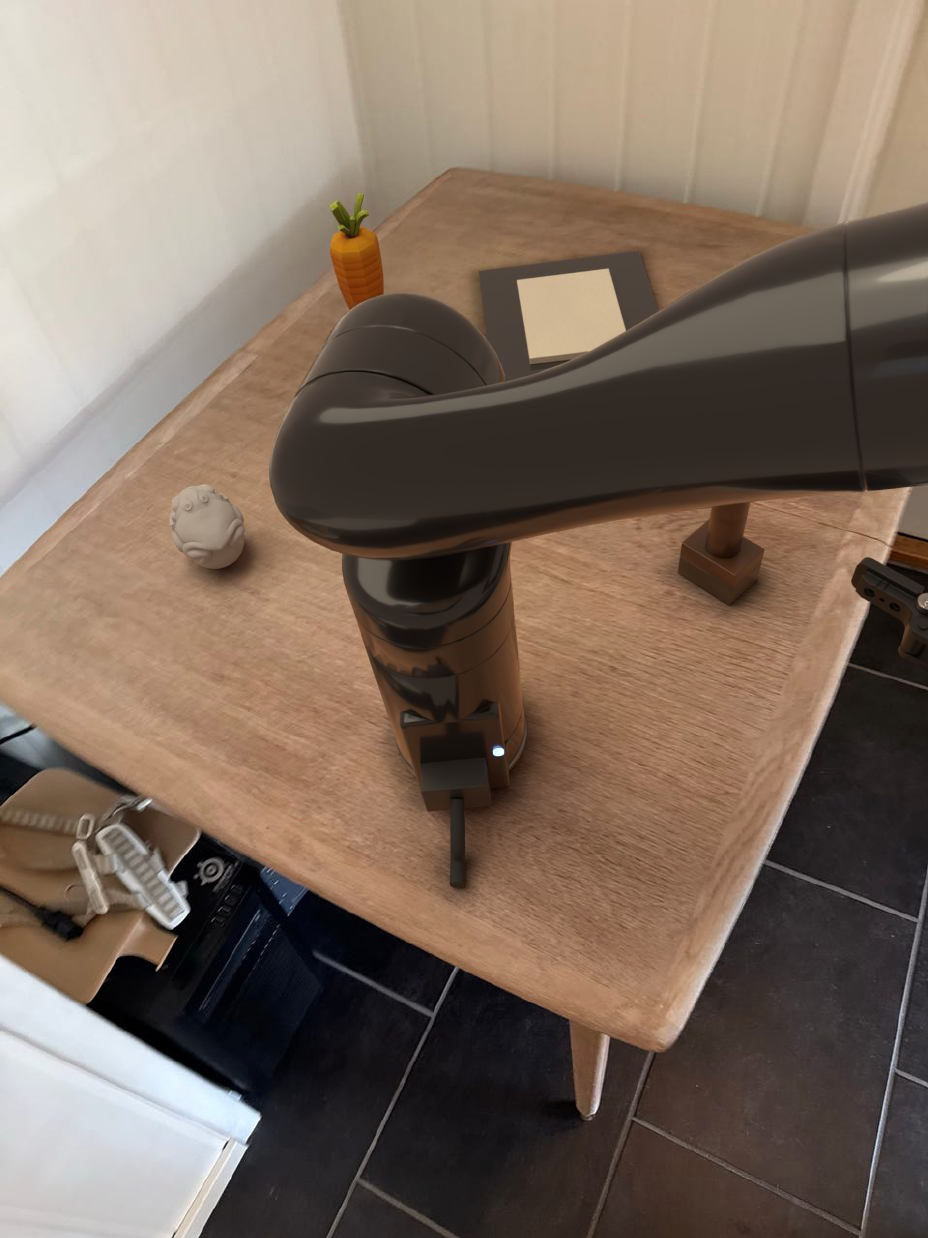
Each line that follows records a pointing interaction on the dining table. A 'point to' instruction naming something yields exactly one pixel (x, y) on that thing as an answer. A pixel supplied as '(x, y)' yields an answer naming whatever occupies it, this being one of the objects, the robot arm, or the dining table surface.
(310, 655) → the dining table surface
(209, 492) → the frog figurine
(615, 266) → the tile
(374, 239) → the carrot
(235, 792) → the dining table surface
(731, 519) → the brown peg on block
